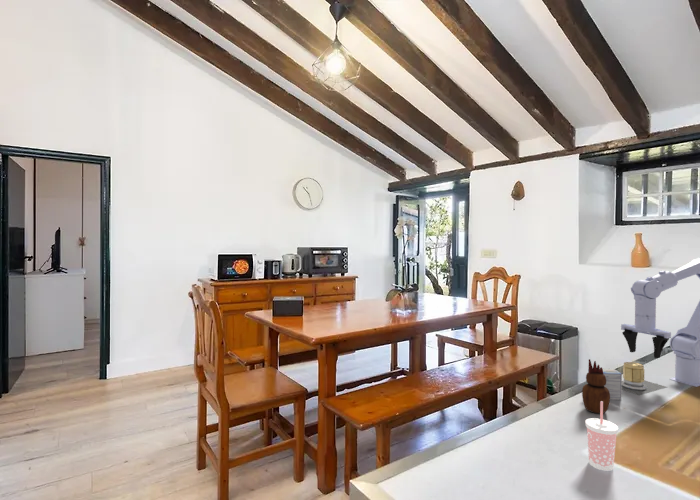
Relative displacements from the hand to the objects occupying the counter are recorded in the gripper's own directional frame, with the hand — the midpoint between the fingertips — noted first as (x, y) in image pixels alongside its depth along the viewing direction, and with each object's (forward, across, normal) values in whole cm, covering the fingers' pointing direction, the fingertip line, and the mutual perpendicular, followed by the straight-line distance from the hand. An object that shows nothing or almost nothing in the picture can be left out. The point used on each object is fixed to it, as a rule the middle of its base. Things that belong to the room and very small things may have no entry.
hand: (644, 354), depth 136 cm
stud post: (+10, +1, -8) cm, 12 cm away
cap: (+7, +1, -8) cm, 11 cm away
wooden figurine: (+10, +7, -37) cm, 39 cm away
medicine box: (+10, +2, -25) cm, 27 cm away
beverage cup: (+10, +25, -63) cm, 69 cm away
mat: (+10, +1, -6) cm, 12 cm away
